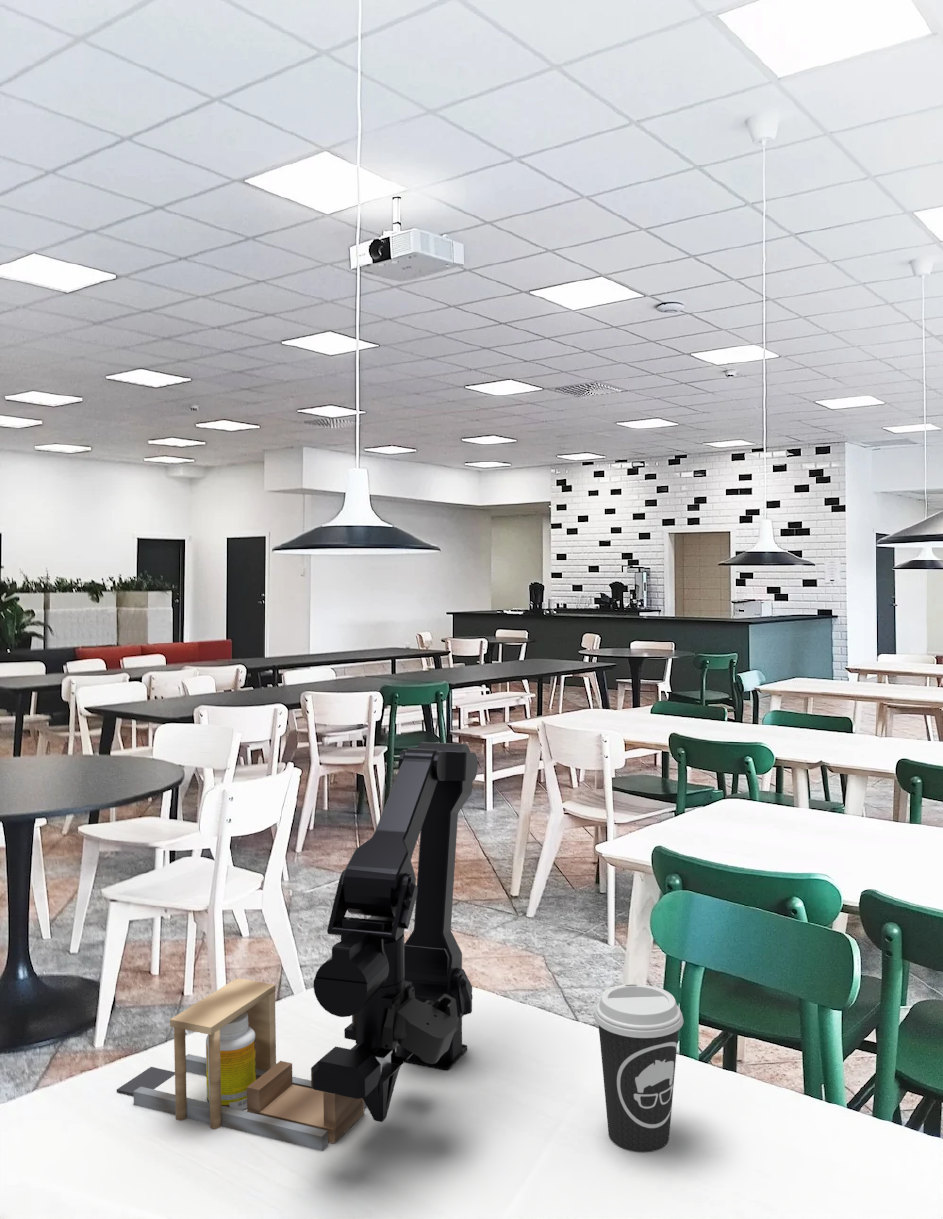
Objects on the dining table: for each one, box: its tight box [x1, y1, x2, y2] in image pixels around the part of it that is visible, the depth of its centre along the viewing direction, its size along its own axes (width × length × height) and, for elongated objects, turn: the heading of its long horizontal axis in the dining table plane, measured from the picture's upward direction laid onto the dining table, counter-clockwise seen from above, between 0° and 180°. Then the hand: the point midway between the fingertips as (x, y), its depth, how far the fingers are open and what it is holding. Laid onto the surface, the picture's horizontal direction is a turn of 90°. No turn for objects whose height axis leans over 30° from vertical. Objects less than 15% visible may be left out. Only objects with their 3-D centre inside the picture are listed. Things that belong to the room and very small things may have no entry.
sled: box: [246, 1060, 365, 1144], centre depth 114 cm, size 11×7×5 cm, turn 67°
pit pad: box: [116, 1066, 175, 1097], centre depth 123 cm, size 4×6×1 cm, turn 157°
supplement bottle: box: [205, 1012, 256, 1111], centre depth 118 cm, size 6×6×10 cm
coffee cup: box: [593, 983, 684, 1153], centre depth 110 cm, size 10×10×15 cm
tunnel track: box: [133, 977, 367, 1152], centre depth 117 cm, size 25×12×12 cm, turn 67°
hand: (379, 1119), depth 110 cm, fingers closed
